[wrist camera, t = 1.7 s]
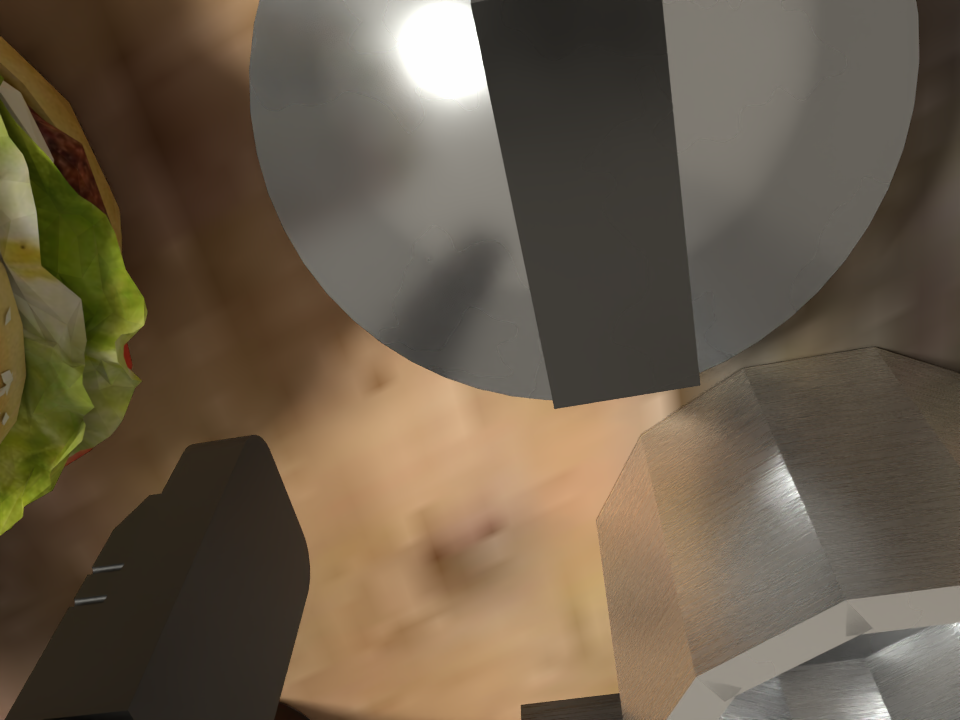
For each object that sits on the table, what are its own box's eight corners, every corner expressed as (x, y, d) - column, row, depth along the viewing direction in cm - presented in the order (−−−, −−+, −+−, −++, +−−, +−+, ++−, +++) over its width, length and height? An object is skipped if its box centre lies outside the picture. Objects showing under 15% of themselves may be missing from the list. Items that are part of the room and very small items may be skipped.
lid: (180, -165, 17) (16, -157, 11) (886, -351, 15) (1117, -454, 9) (368, 389, 24) (325, 570, 18) (870, 304, 22) (1000, 474, 16)
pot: (481, 411, 24) (473, 648, 17) (1168, 298, 21) (1477, 519, 15) (556, 698, 30) (572, 954, 23) (1093, 634, 28) (1284, 897, 21)
